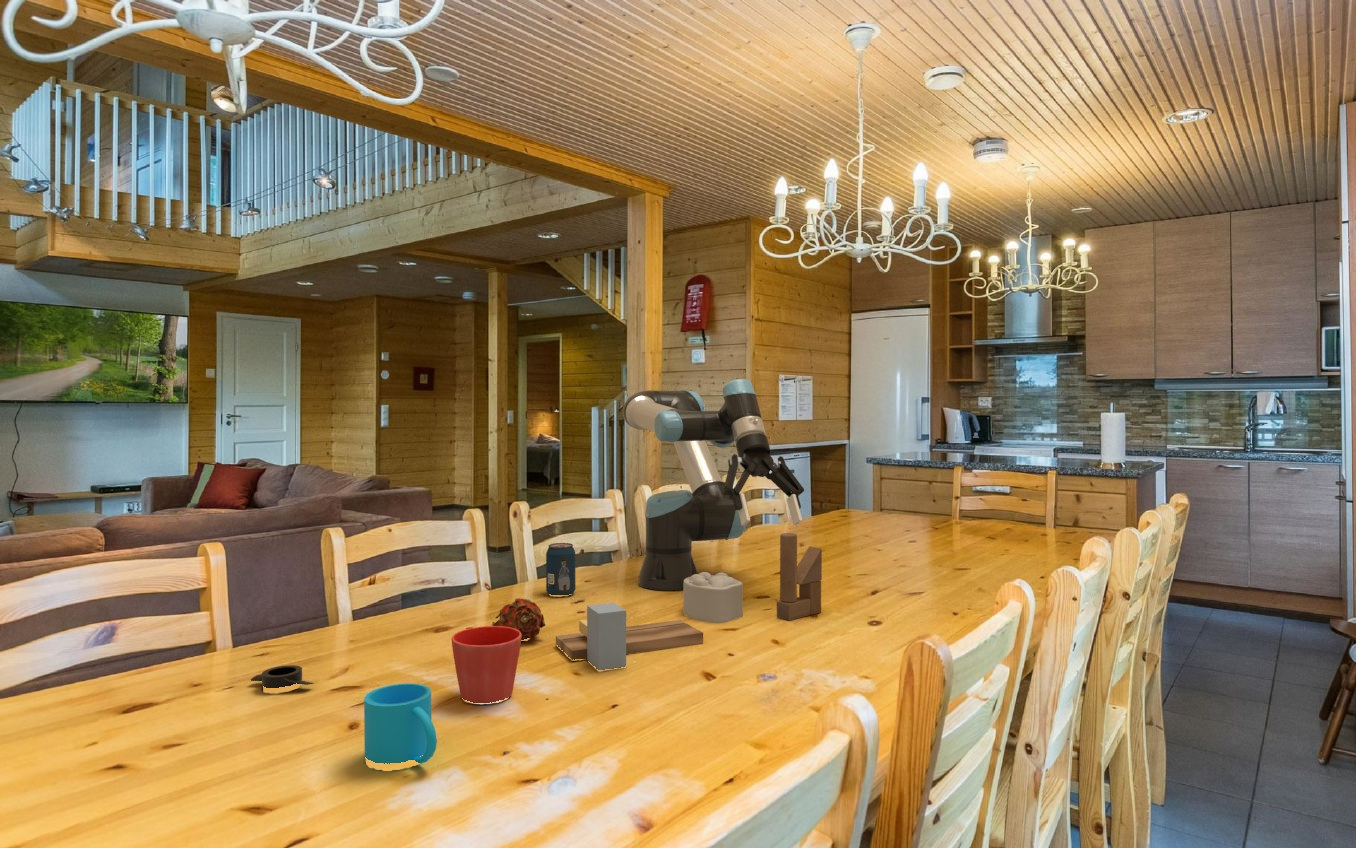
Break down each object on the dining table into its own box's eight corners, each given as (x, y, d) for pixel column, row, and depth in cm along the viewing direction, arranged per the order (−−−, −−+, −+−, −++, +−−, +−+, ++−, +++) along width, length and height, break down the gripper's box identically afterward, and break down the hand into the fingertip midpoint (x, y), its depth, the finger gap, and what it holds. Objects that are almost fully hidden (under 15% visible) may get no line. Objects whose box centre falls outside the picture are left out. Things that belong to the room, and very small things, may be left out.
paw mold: (718, 625, 163) (719, 583, 163) (671, 614, 172) (671, 574, 172) (748, 615, 171) (748, 575, 171) (702, 605, 180) (702, 567, 179)
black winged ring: (263, 704, 120) (263, 685, 120) (248, 686, 128) (247, 668, 128) (317, 692, 125) (317, 674, 125) (299, 675, 133) (298, 658, 133)
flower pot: (535, 688, 126) (534, 628, 126) (497, 714, 116) (497, 648, 116) (477, 681, 130) (477, 622, 130) (436, 705, 119) (436, 641, 119)
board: (555, 646, 148) (555, 635, 148) (680, 629, 159) (680, 619, 159) (572, 662, 139) (572, 650, 139) (703, 643, 150) (703, 632, 150)
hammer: (571, 647, 148) (571, 594, 147) (596, 644, 150) (596, 591, 150) (598, 672, 134) (598, 613, 134) (626, 668, 136) (626, 610, 136)
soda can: (560, 590, 194) (560, 541, 194) (581, 594, 190) (581, 544, 190) (540, 595, 188) (539, 545, 188) (561, 599, 184) (561, 548, 184)
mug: (352, 759, 101) (351, 696, 101) (408, 738, 108) (408, 679, 107) (404, 787, 94) (404, 719, 93) (462, 763, 100) (462, 699, 100)
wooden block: (821, 612, 173) (822, 530, 172) (788, 621, 166) (789, 536, 165) (808, 609, 175) (809, 528, 175) (775, 618, 169) (776, 533, 168)
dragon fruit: (536, 655, 148) (502, 651, 156) (563, 621, 153) (529, 618, 162) (509, 623, 145) (476, 620, 154) (538, 590, 150) (505, 589, 159)
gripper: (710, 428, 177) (731, 515, 166) (803, 434, 187) (827, 516, 177) (696, 445, 182) (715, 530, 172) (787, 449, 193) (810, 529, 183)
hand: (772, 523), depth 175 cm, fingers open, 13 cm apart
